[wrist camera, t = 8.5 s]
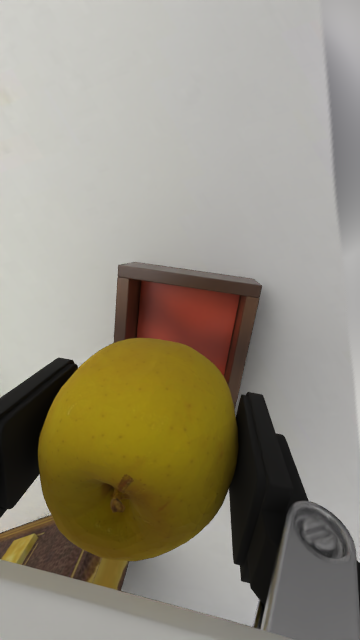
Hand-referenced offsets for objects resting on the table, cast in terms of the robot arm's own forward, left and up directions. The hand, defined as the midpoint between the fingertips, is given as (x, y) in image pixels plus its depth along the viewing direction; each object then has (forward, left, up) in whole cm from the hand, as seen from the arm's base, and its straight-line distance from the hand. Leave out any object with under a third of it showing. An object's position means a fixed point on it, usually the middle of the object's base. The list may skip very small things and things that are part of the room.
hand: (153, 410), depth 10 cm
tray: (0, +4, -11) cm, 12 cm away
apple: (0, 0, -3) cm, 3 cm away
